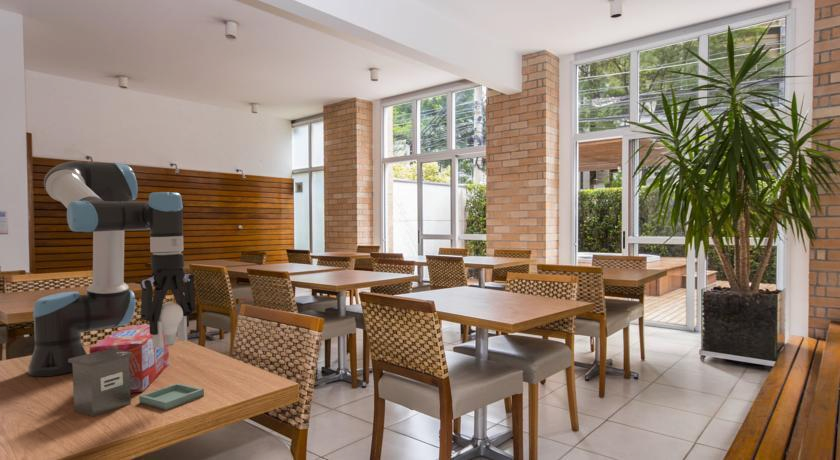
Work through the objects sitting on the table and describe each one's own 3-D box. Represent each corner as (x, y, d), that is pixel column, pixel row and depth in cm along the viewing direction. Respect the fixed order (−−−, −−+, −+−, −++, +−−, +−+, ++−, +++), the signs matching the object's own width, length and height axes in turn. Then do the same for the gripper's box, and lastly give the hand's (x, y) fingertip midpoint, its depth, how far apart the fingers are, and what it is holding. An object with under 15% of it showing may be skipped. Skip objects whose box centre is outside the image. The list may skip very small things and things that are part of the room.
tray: (139, 403, 125) (139, 395, 125) (177, 389, 135) (177, 383, 134) (166, 410, 120) (166, 402, 120) (204, 395, 129) (203, 389, 129)
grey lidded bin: (70, 411, 121) (68, 358, 120) (113, 397, 130) (111, 348, 129) (91, 418, 116) (89, 363, 116) (134, 403, 125) (132, 352, 125)
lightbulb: (173, 349, 123) (171, 304, 123) (150, 348, 124) (149, 304, 124) (189, 342, 129) (188, 300, 129) (168, 341, 131) (166, 300, 130)
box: (125, 367, 156) (124, 324, 156) (170, 364, 159) (169, 321, 159) (88, 398, 129) (86, 346, 129) (143, 393, 132) (141, 343, 132)
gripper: (139, 256, 116) (143, 355, 117) (209, 250, 133) (212, 336, 134) (120, 256, 120) (124, 351, 120) (190, 250, 136) (193, 334, 137)
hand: (170, 343), depth 127 cm, fingers closed on lightbulb, 6 cm apart
